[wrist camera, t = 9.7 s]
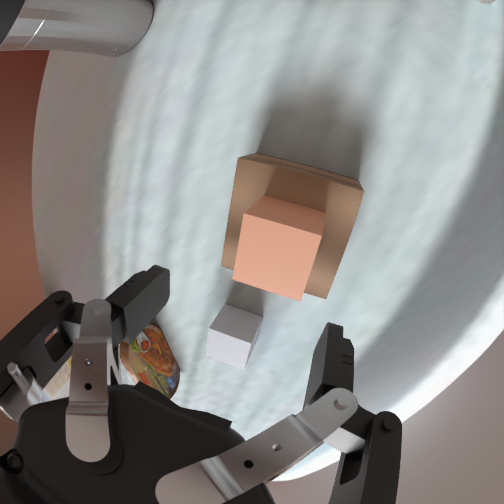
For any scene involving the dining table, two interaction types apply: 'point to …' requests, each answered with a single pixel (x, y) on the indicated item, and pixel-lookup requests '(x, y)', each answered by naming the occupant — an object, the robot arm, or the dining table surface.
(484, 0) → the lumpy-topped squat cylinder
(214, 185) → the dining table surface
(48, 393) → the cracker box
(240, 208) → the walnut block
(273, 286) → the terracotta cube
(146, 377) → the tin
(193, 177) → the dining table surface
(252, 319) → the grey-blue cube
